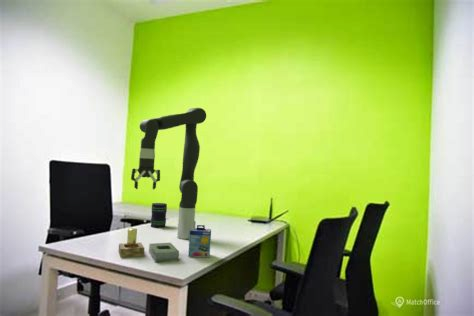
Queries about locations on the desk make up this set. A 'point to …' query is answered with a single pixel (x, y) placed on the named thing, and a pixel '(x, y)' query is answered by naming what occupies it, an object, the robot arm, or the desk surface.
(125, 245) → the socket block
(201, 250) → the ink cartridge box
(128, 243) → the axle
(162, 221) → the storage jar
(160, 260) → the block with square hole
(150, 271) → the desk surface
